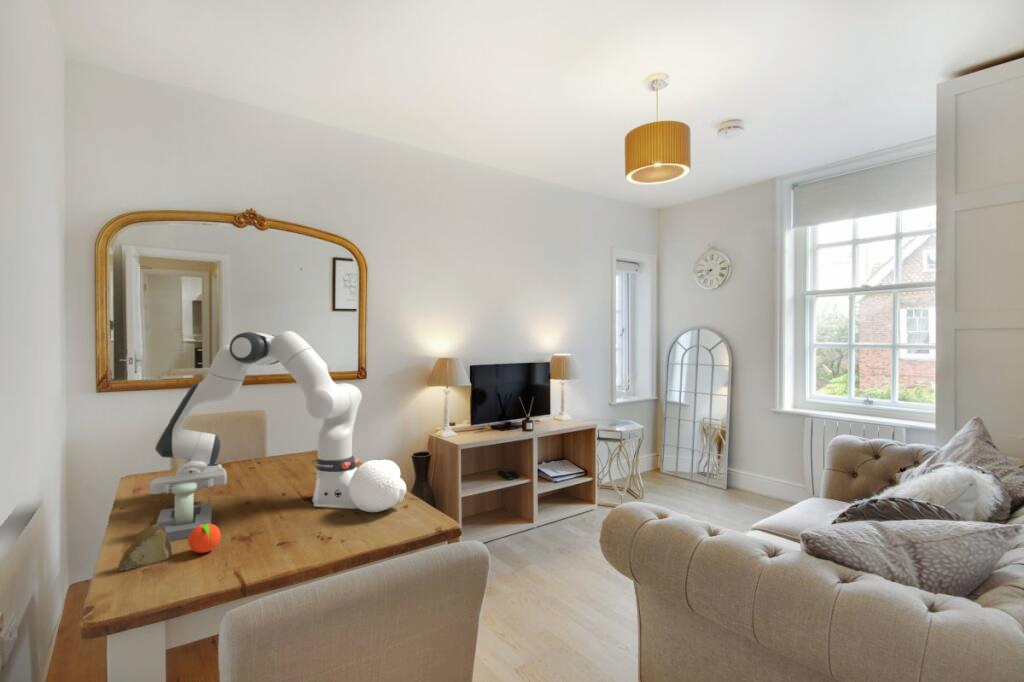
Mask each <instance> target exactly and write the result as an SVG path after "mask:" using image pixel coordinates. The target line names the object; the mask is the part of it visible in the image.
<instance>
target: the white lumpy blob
mask: <svg viewBox="0 0 1024 682" xmlns="http://www.w3.org/2000/svg"><path fill="white" fill-rule="evenodd" d="M406 493H407V484H406V483H405V481H404V480H403V478H401V469H400V467H399V466H398V465H397V463H395V461H392V460H390V459H382V460H376V459H374V460H373V459H371V460H368V461H366V462H363V463H362V464H360V465H359V466H358V467H357V469H356V471H355V472H354V474H353V475H352V478H351V481H350V484H349V494H350V497H351V499H352V501H353V503H354V504H355V505H356V506H357V507H358V508H357V509H359V510H360V511H363V512H368V513H380V512H383V511H386V510H389V509H390V508H392V507H394V506H395V505H396V504H398V502H399V503H400V502H402V501H403V500H404V497H405V495H406Z"/></svg>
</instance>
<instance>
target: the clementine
mask: <svg viewBox="0 0 1024 682" xmlns="http://www.w3.org/2000/svg"><path fill="white" fill-rule="evenodd" d="M221 536H222V535H221V531H220V528H219V527H218V526H217V525H214V524H213V523H211V524H209V523H208V524H202V525H199V526H198V527H196V528H195V529H194V530H193V531H192V532H191V534H190V536H189V538H187V539H188V540H187V541H188V547H189V548H190V549H191V551H193V552H195V553H198V554H205V553H208V552H210V551H213V550H214V549H215V548H216V547H217V546H218V545H219V542H221V541H220V540H221Z"/></svg>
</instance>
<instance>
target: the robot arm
mask: <svg viewBox="0 0 1024 682" xmlns="http://www.w3.org/2000/svg"><path fill="white" fill-rule="evenodd" d="M277 363H280V364H281V365H282V366H283V368H284V369H285V370H286V371H287V372H288V373H289V375H290V376H291V377H292V378H293V379H294V381H295V382H296V383H297V384H298V385H299V387H300V388H301V391H302V393H303V395H304V397H305V399H306V401H305V408H306V410H307V413H308V414H309V415H310V416H311V417H313V418H315V419H321V420H323V424H322V427H321V428H320V430H319V433H318V436H317V458H316V463H315V464H316V466H315V469H316V472H317V473H316V481H315V488H314V492H313V496H312V499H311V501H312V503H313V507H318V508H331V509H349V510H350V509H353V510H357V509H359V508H358V507H357V506H356V505H355V504H354V503H353V501H352V499H351V497H350V494H349V484H350V481H351V478H352V475H353V474H354V472H355V471H356V469H357V468H358V467H357V463H359V462H360V461H359V458H355V456H354V455H353V434H354V427H355V423H356V418H357V415H358V414H357V413H358V409H359V406H360V405H361V403H362V399H363V396H362V392H361V390H360V389H359V387H357V386H356V385H355V384H351V383H349V382H347V383H346V382H341V383H336V382H335V381H334V380H333V378H332V377H331V374H330V373H329V370H328V369H329V368H328V367H329V366H328V364H327V363H326V362H325V361H324V360H323V359H322V357H321V356H320V355H319V353H317V352H316V351H315V350H314V349H313V347H312V346H311V345H310V344H309V343H308V342H307V340H305V339H304V338H303V337H302V336H300V335H299V334H297V332H294V331H293V330H286V331H282V332H279V333H278V334H277V335H274V334H268V333H264V332H251V331H247V332H242V333H238V334H236V335H235V336H234V337H233V338H232V339H231V340H230V343H229V344H224V345H223V346H221V347H220V348H219V350H218V351H217V353H216V355H215V356H214V357H213V361H212V362H211V365H210V367H209V370H208V372H207V375H206V376H205V378H203V379H202V381H201V382H199V383H193V385H192V386H191V387H190V388H189V389H188V390H187V393H186V394H185V395H184V397H183V399H182V400H181V402H180V403H179V404H178V406H177V409H176V410H175V412H173V415H172V416H171V419H170V420H169V422H168V424H167V426H166V427H165V428H164V429H163V431H162V432H160V434H159V435H158V437H157V439H156V442H155V447H154V449H155V451H156V453H157V454H158V455H159V456H160V457H161V458H170V459H174V458H176V459H183V460H184V461H183V462H182V463H180V465H179V467H178V469H177V471H176V474H174V475H168V476H161V477H157V478H154V479H153V480H152V481H150V483H149V494H150V495H160V494H173V493H172V487H173V486H174V485H178V484H182V483H196V484H197V490H196V491H198V490H201V489H210V488H211V487H216V486H224V485H227V483H228V478H227V477H228V475H227V474H228V473H227V470H226V469H225V468H223V466H222V464H220V463H219V464H217V463H216V462H217V460H218V457H219V454H220V450H221V440H220V438H219V436H218V435H217V434H215V433H209V432H205V431H196V430H191V429H186V428H183V425H184V423H185V422H186V420H187V418H188V416H189V415H190V413H191V412H192V410H193V409H194V408H195V407H197V406H198V405H201V404H205V403H213V402H221V401H225V400H228V399H231V398H233V397H235V396H236V395H237V394H238V393H239V392H240V390H241V387H242V385H243V382H244V381H245V378H246V374H247V371H248V369H249V368H250V367H251V366H253V365H258V366H264V365H265V366H268V365H274V364H277Z"/></svg>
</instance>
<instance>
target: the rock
mask: <svg viewBox="0 0 1024 682" xmlns="http://www.w3.org/2000/svg"><path fill="white" fill-rule="evenodd" d="M137 534H138V535H136V537H135V539H134V540H133V541H132V542H131V544H130V545H129V547H128V548H126V550H124V552H123V554H122V557H121V559H120V561H119V563H118V572H124V571H123V570H125V571H127V570H132V568H133V569H136V567H137V568H141V567H145V566H149V565H152V564H153V565H154V564H156V563H157V564H158V563H159V562H163V561H166V560H168V559H169V558H171V557H172V554H173V551H172V545H171V541H170V540H169V538H168V535H167V532H166V530H165V528H164V526H163V524H159V525H158V524H156V523H155V524H152V525H149V526H148V527H146V528H144V529H142V530H140V531H139V532H138V533H137ZM140 566H141V567H140Z"/></svg>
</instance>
